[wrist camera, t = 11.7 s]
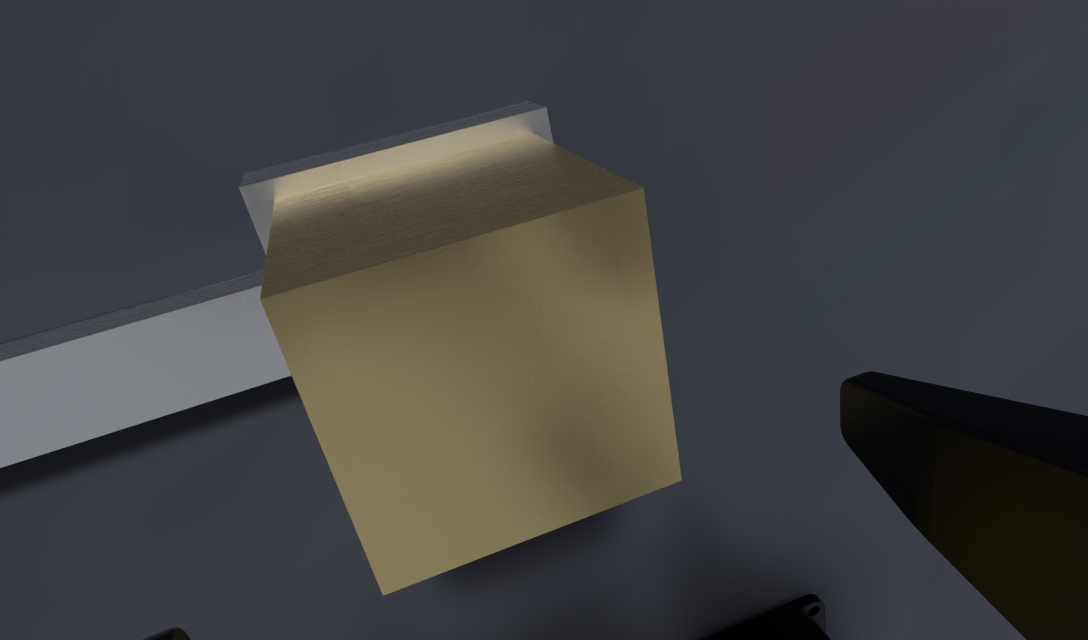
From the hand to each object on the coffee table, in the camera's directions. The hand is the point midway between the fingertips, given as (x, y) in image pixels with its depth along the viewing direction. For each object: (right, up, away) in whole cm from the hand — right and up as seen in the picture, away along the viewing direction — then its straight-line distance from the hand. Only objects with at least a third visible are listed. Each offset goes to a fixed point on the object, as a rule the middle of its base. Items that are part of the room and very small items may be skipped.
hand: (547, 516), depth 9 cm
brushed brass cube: (-3, +3, +8) cm, 9 cm away
